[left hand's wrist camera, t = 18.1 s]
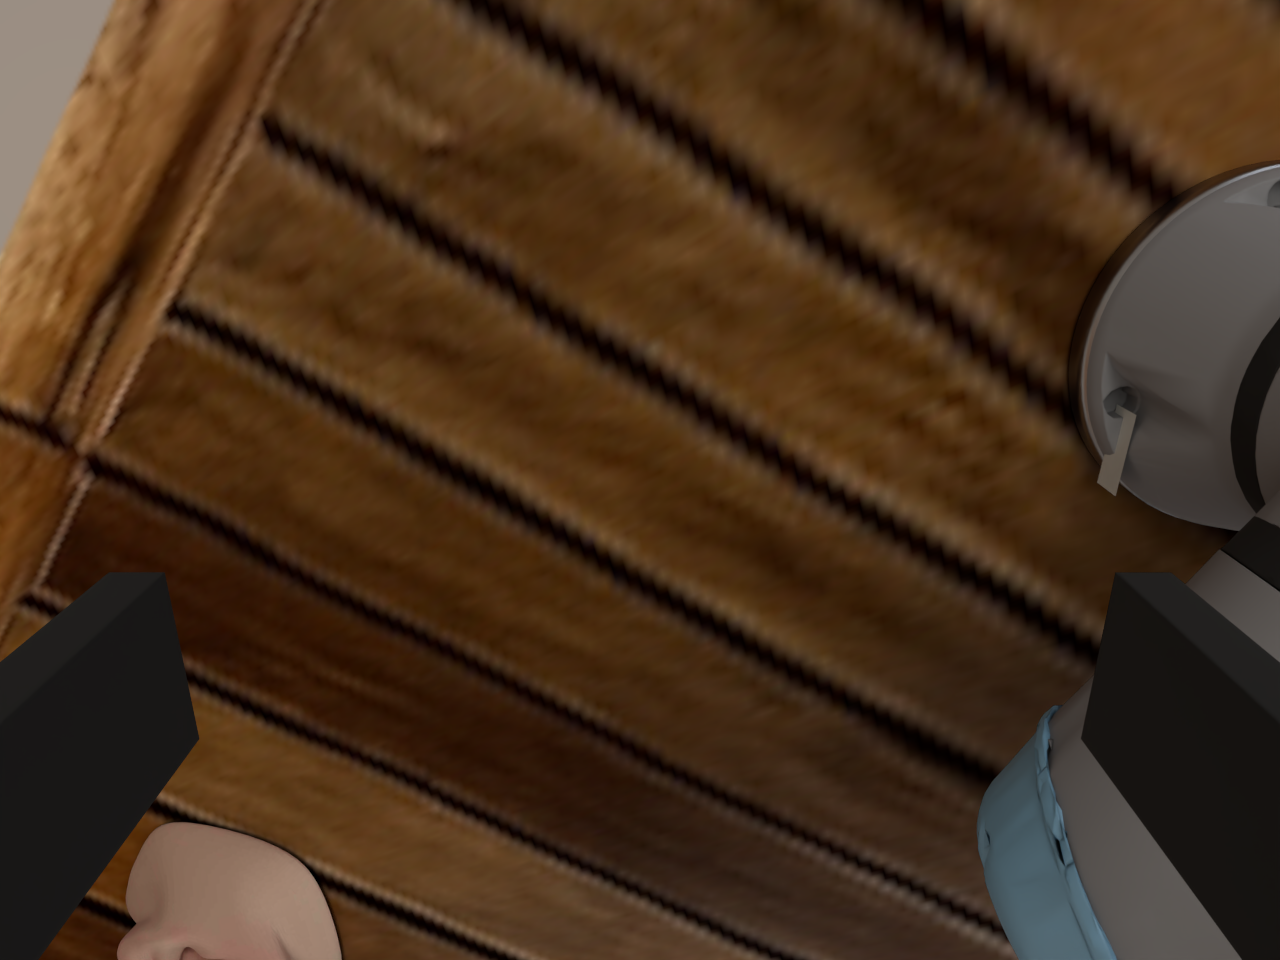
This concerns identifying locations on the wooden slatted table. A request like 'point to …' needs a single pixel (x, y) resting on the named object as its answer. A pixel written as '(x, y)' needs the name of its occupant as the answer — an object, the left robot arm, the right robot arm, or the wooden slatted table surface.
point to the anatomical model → (223, 900)
